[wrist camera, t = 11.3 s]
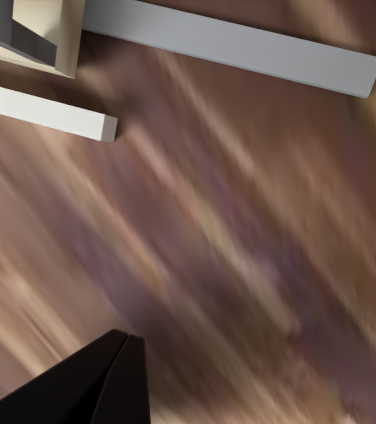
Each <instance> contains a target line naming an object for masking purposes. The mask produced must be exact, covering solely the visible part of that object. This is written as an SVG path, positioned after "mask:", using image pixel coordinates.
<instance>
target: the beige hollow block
mask: <svg viewBox="0 0 376 424" xmlns="http://www.w3.org/2000/svg"><path fill="white" fill-rule="evenodd" d="M85 1H86V0H0V60H2V61H6V62H10V63H14V64H18V65H22V66H26V67H30V68H33V69H37V70H41V71H45V72H49V73H53V74H57V75H61V76H65V77H69V78H73V79H75V76H76V68H77V61H78V53H79V46H80V38H81V31H82V23H83V16H84V9H85Z"/></svg>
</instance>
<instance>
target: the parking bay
mask: <svg viewBox="0 0 376 424" xmlns="http://www.w3.org/2000/svg"><path fill="white" fill-rule="evenodd" d="M82 30H86V31H90V32H94V33H98V34H102V35H106V36H110V37H114V38H119V39H123V40H127V41H131V42H135V43H139V44H143V45H147V46H151V47H156V48H160V49H164V50H168V51H172V52H176V53H180V54H184V55H188V56H192V57H197V58H201V59H205V60H209V61H213V62H217V63H221V64H225V65H229V66H234V67H238V68H242V69H246V70H250V71H254V72H258V73H262V74H266V75H270V76H275V77H279V78H283V79H287V80H291V81H295V82H299V83H303V84H307V85H311V86H316V87H320V88H324V89H328V90H332V91H336V92H340V93H344V94H348V95H353V96H357V97H361V98H368V97H369V94H370V92H371V89H372V87H373V84H374V82H375V79H376V57H375V56H371V55H367V54H363V53H358V52H354V51H350V50H345V49H341V48H337V47H333V46H328V45H324V44H320V43H315V42H311V41H307V40H303V39H298V38H294V37H290V36H286V35H281V34H277V33H273V32H268V31H264V30H260V29H256V28H251V27H247V26H243V25H239V24H234V23H230V22H226V21H221V20H217V19H213V18H209V17H204V16H200V15H196V14H191V13H187V12H183V11H179V10H174V9H170V8H166V7H162V6H157V5H153V4H149V3H144V2H140V1H136V0H86V1H85V9H84V16H83V23H82ZM0 114H2V115H6V116H10V117H14V118H17V119H21V120H25V121H28V122H32V123H36V124H40V125H43V126H47V127H51V128H55V129H58V130H62V131H66V132H69V133H73V134H77V135H81V136H84V137H88V138H92V139H95V140H99V141H111V142H114V138H115V132H116V126H117V121H118V118H115V117H112V116H108V115H105V114H101V113H97V112H93V111H89V110H86V109H82V108H78V107H74V106H70V105H67V104H63V103H59V102H55V101H51V100H47V99H44V98H40V97H36V96H32V95H28V94H25V93H21V92H17V91H13V90H9V89H6V88H2V87H0Z"/></svg>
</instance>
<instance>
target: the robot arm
mask: <svg viewBox="0 0 376 424" xmlns="http://www.w3.org/2000/svg"><path fill="white" fill-rule="evenodd" d="M0 424H151V418H150V404H149V390H148V376H147V362H146V348H145V339H144V338H143V337H140V336H137V335H133V334H130V335H129V336H128V333H127V332H124V331H121V330H117V329H112V330H110V331H109V332H107V333H106V334H104V335H102V336H101V337H99V338H98V339H96V340H95V341H93V342H91V343H90V344H88V345H87V346H85V347H83V348H82V349H80V350H79V351H77V352H75V353H74V354H72V355H71V356H69V357H67V358H66V359H64V360H63V361H61V362H59V363H58V364H56V365H55V366H53V367H51V368H50V369H48V370H47V371H45V372H44V373H42V374H40V375H39V376H37V377H36V378H34V379H32V380H31V381H29V382H28V383H26V384H24V385H23V386H21V387H20V388H18V389H16V390H15V391H13V392H12V393H10V394H8V395H7V396H5V397H4V398H2V399H0Z"/></svg>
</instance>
